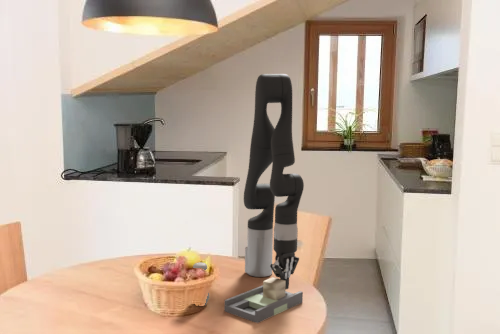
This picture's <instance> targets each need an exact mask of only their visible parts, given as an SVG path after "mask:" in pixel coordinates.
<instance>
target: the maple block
mask: <svg viewBox="0 0 500 334" xmlns="http://www.w3.org/2000/svg"><path fill="white" fill-rule="evenodd" d="M262 283H263V284H262V285H263V297H266V298H270V299H273V300H278V299H280V298H282V297H284V296H285V291H286V290H285V288H286V281H285V280H281V279H280V278H279V277H273V276H272V277H270V278H267V279H265V280H263V281H262Z"/></svg>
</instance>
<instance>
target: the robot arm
mask: <svg viewBox="0 0 500 334" xmlns="http://www.w3.org/2000/svg"><path fill="white" fill-rule="evenodd" d="M291 80H292V79H291V77H290V76H289V75H288V74H286V73H263V74H260V75H258V77H257V79H256V82H255V91H254V93H255V94H254V95H255V96H254V117H253V126H252V132H251V133H252V134H251V138H250V139H251V140H250V149H249V160H248V169H247V174H246V175H247V176H246V179H245V184H244V185H245V186H244V191H243V204H244V207H245V208H246V209H248V210H262V211H261V212H259V214H257V215H256V216H253V217H250V218H249V219H248V220H247V239H246V240H247V242H246V243H247V246H245V248H244V273H246V275H248V276H251V277H256V278H262V277H263V278H264V277H265V278H266V277H269V276H272V274H274V276H275V278H278V279H281V280H285V281H286V288H285V291H287V290H288V289H290V287H289V285H290V278H291V275H294V272H295V270H296V268H297V267H298V266H297V265H298V263H299V261H300V257H298V256H296V253H297V251H298V234H299V233H298V211H299V210H298V209H299V207H300V202H301V198H302V195H303V191H304V186H305V185H304V179H303V178H302V176H301V175H300V174H298V173H284V170H285V168H287V167H292V166H293V165H294V164H295V161H296V158H295V150H294V143H293V142H294V141H293V84H292V81H291ZM275 103H276V104H278V103H279V104H280V108H281V109H280V116H279V118H278V120H277V123H276V126H274V125H273V124H272V122H271V120H270V117H269V114H268V110H267V109H268V104H275ZM270 166H271V174H270V179H269V183H258V181H259V180H260V178H261V177H262V175H263V174H264V172H265V171H266V170H267V169H268V168H269V167H270ZM279 197H280V198H283V197H287V198H286V199H285V200H284V201H282V202H280V203H278V204H276V205H275V199H276V198H279ZM274 208H275V209H274ZM273 251H274V252H275V256H274V257H275V258H274V260H275V261H274V262H273Z"/></svg>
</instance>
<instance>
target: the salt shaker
mask: <svg viewBox="0 0 500 334" xmlns="http://www.w3.org/2000/svg"><path fill="white" fill-rule="evenodd" d="M193 268H202V269H204V270H206V269H207V270H208V265H207V263H205V262H201V261H200V262H196V263H194V264H193V265H192V269H193ZM209 300H210V293H208V296H207V299H206V303H205V306H206V305H207V303H208V302H209Z"/></svg>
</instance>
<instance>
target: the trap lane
mask: <svg viewBox="0 0 500 334" xmlns="http://www.w3.org/2000/svg"><path fill="white" fill-rule="evenodd" d="M303 293H304V292H303V291H301V290H300V291H296V292H294V293H292V292H290V291H287V290H285V296H284V297H282V298H280V299H278V300H273V299H270V298H266V297H263V284H262V285H260V286H257V287H255V288H253V289H249V290H247V291H244V292H241V293H239V294H236V295H234V296H231V297H229V298H226V299H224V303H223V304H224V308H223V309H224V313H225V312H226V313H228V314H231V315H234V316H235V317H239V318H243V319H244V320H247V321H250V322H254V323H256V324H259V323H261V322H263V321H265V320H267V319H270V318H272V317H274V316H277V315H278V314H281V313H283V312H285V311H286V310H289V309H292V308H294V307H295V306H298V305H300V304H302V303H303V301H304V300H303V297H304V295H303Z"/></svg>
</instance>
